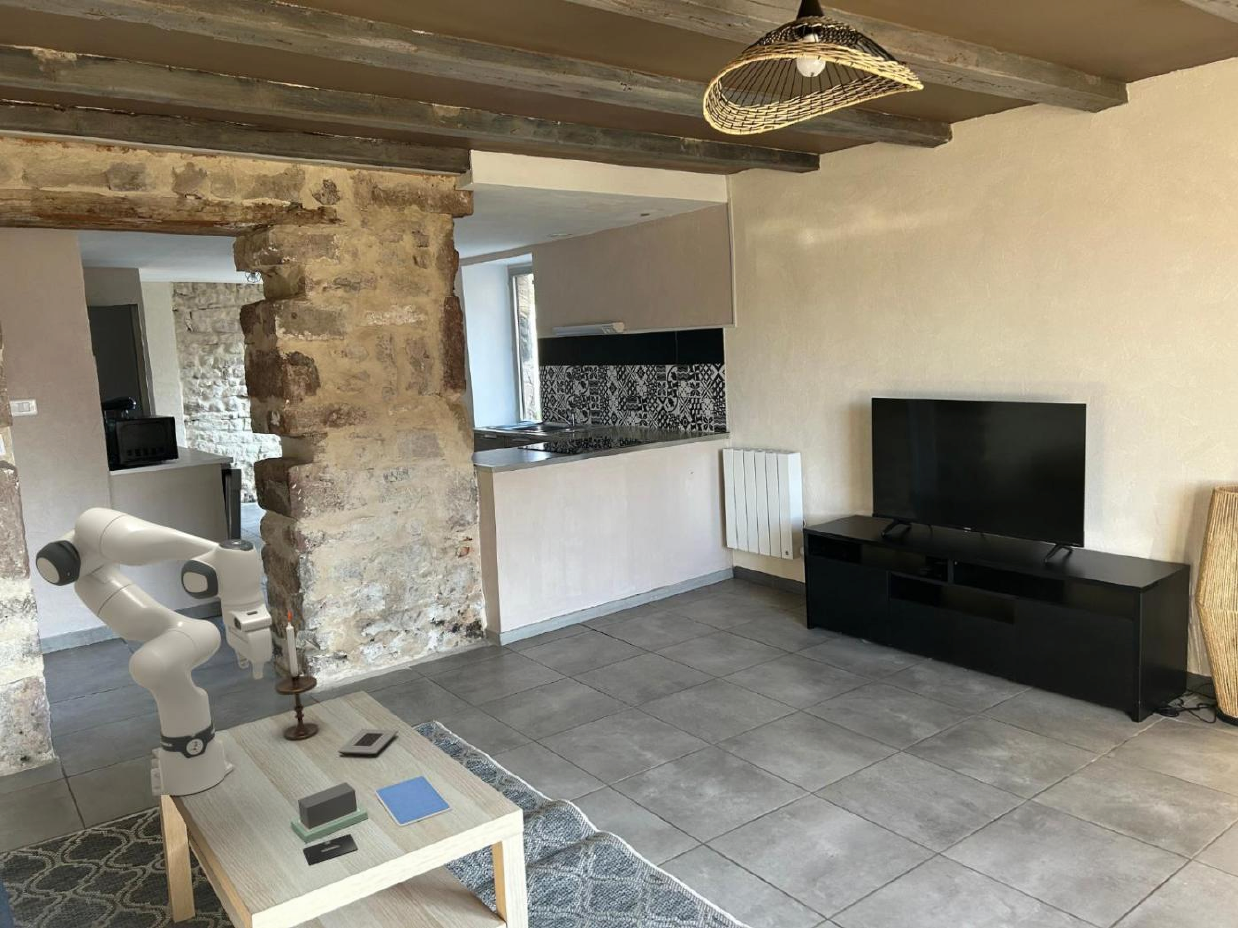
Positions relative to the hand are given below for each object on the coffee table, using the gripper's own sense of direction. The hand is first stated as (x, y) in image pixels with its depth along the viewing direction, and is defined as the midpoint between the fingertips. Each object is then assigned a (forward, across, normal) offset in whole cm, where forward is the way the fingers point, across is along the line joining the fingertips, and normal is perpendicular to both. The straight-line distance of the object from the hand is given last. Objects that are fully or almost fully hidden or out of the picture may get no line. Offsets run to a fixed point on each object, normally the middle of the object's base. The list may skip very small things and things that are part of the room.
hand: (251, 672), depth 200 cm
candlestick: (+34, -38, +22) cm, 56 cm away
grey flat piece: (+34, -16, +32) cm, 50 cm away
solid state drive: (+34, +25, +5) cm, 43 cm away
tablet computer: (+34, +19, +27) cm, 48 cm away
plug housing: (+32, +14, +9) cm, 36 cm away
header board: (+34, +14, +9) cm, 38 cm away
